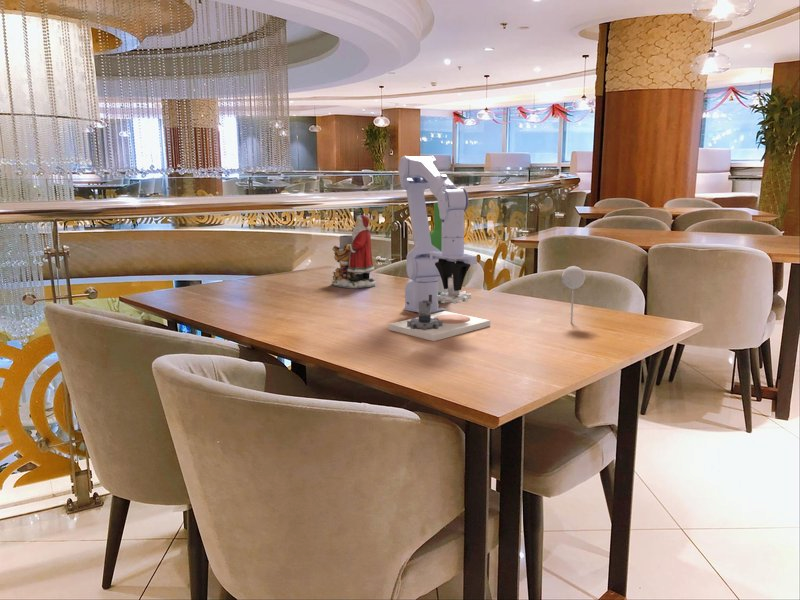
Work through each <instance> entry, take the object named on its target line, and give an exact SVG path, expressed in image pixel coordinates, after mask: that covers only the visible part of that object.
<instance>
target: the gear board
mask: <svg viewBox="0 0 800 600" xmlns="http://www.w3.org/2000/svg"><path fill="white" fill-rule="evenodd" d="M414 318H415V319H417V318H419V316H418V317H414ZM431 318H433V319H434V318H438V320H439V321H442V326H439V329H427V330H423V329H411V326H407V321H411V319H412V318H410V319H409V318H408V319H405V320H401V321H395V322H392V323H388V331H391V332H397V333H400V334H404V335H408V336H412V337H416V338H420V339H424V340H428V341H432V342H436V341H440V340H442V339H443V340H444V339H446V338H450V337H454V336H459V335H461V334H465V333H466V334H467V333H469V332H472V331H473V332H474V331H476V330H481V329H484V328H488V327H491V320H490V319H486V318H485V319H484V318H480V317H476V316H471V315H466V314H460V313H456V312H451V311H446V310H442V311H438V312H433V313H431Z"/></svg>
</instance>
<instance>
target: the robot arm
mask: <svg viewBox="0 0 800 600" xmlns="http://www.w3.org/2000/svg"><path fill="white" fill-rule="evenodd" d="M398 175H399V183H400V187H401V188H402V189H404V190H405V192H406V197H407V204H408V210H409V217H410V223H411V230H412V232H411V233H412V239H413V245H414V246H413V248H411V249H410V251H409V252H407V254H406V266H405V267H406V275H407V277H408V278H409V280H408V281H406V283H405V287H404V307H403V308H402V309H403V310H405V311H408V312H412V313H413V312H414V313H418V314H419V302H421V301H423V300H429V295H430V294H431V295H432V304H431V314H434V313H439V312H443V311H446V310H445V308H444V307H439V303H438V301H437V295H438V280H440V278H441V279H442V283H443V287H444V289H448V284H447V277H448V276H453V286H454V291H458V290H459V291H462V288H463V283H464V281H465V278H466V275H467V273H468V271H469V269H470V267H471V265H477V264H478V256H477V255H471V254H467V253H465V212H467V209H468V207H469V200H470V199H469V194H468V191H467V190H466V188H463V187H462V188H458V187H457V186H456V185H455V184H454V182H453V181H452V180H451V179H450V178H449V176H448V175H447V174H441V173H440V172H439V169H438V160H437V159H436V158H435V156H434V155H428V156H427V155H425V156H424V155H420V156H419V155H418V156H414V155H412V156H408V155H403V156H402V157H400V159H399V162H398ZM427 189H429V190H430V192H431V194H433V196H434V197H435V199H436V200H437V203H438V208H439V216H440V219H442V252H440V250H439V249H437V248H436V247H434V246H433V245H432V244H431V237H430V233H431V231H430V226H429V224H430V223H429V219H428V212H427V211H428V210H427V204H426V198H425V191H426V190H427Z"/></svg>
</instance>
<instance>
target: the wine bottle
mask: <svg viewBox="0 0 800 600" xmlns="http://www.w3.org/2000/svg"><path fill="white" fill-rule="evenodd" d="M433 207H434V208H433V217H434V218H433V224H434V225H433V229H432V230H431V231H430V237H431V244H432V245H433V246H434V247H436V248H437V249H439V250H440V252H442V219H440V216H439V208H438V202H434V203H433ZM442 292H444V293H446V292H448V289H444V287H443V283H442V279H441V278H440V280H438V295H441V293H442ZM439 303H441V301H440V300H439V301H438V304H439ZM441 304H442V303H441Z"/></svg>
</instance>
